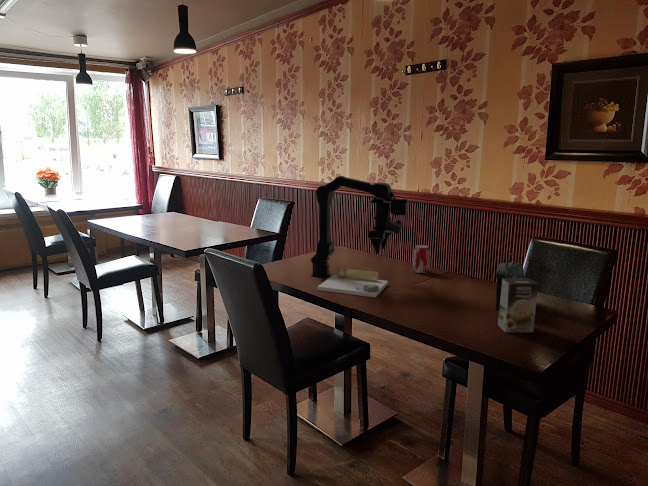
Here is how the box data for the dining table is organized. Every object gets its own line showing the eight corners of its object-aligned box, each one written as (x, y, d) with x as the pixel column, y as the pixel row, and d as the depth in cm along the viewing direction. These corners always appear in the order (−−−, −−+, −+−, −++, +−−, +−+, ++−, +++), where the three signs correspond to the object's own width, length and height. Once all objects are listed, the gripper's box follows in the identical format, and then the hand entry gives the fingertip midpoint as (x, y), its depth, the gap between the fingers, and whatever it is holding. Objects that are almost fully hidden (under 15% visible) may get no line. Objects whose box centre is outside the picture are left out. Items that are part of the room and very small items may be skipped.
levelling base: (317, 290, 195) (317, 282, 194) (333, 278, 211) (333, 271, 210) (375, 297, 186) (375, 289, 185) (387, 284, 202) (387, 277, 201)
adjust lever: (336, 277, 206) (336, 269, 205) (340, 275, 209) (340, 267, 209) (375, 282, 200) (376, 273, 199) (378, 279, 203) (378, 271, 202)
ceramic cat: (506, 314, 168) (511, 258, 164) (488, 310, 172) (492, 255, 168) (526, 300, 183) (531, 248, 179) (509, 296, 187) (513, 245, 183)
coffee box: (505, 333, 152) (509, 283, 149) (497, 325, 159) (501, 277, 155) (534, 332, 153) (538, 283, 149) (525, 324, 159) (529, 277, 155)
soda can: (424, 275, 216) (425, 248, 213) (410, 272, 220) (411, 246, 217) (431, 271, 221) (432, 245, 219) (417, 269, 225) (418, 243, 223)
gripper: (395, 219, 188) (394, 258, 192) (406, 212, 205) (404, 248, 209) (368, 217, 192) (366, 255, 196) (381, 210, 209) (379, 245, 213)
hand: (380, 251), depth 203 cm, fingers open, 9 cm apart
